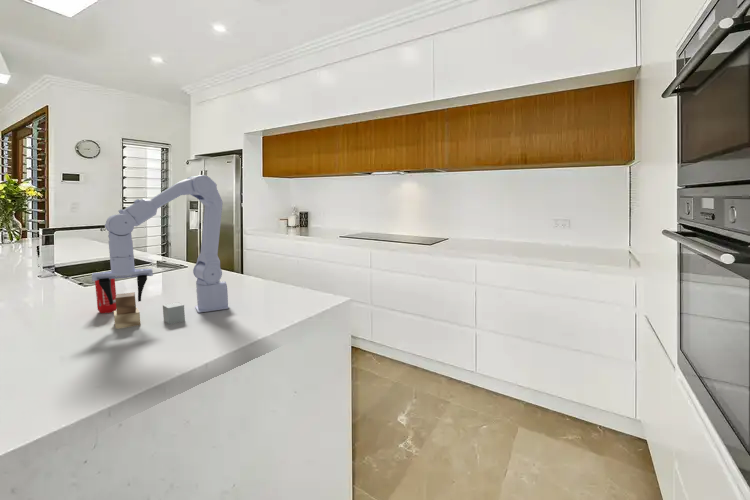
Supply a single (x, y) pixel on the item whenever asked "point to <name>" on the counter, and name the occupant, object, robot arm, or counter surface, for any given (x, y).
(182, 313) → the grey block
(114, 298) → the beverage can
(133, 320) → the maple base
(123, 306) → the walnut block
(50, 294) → the counter surface
